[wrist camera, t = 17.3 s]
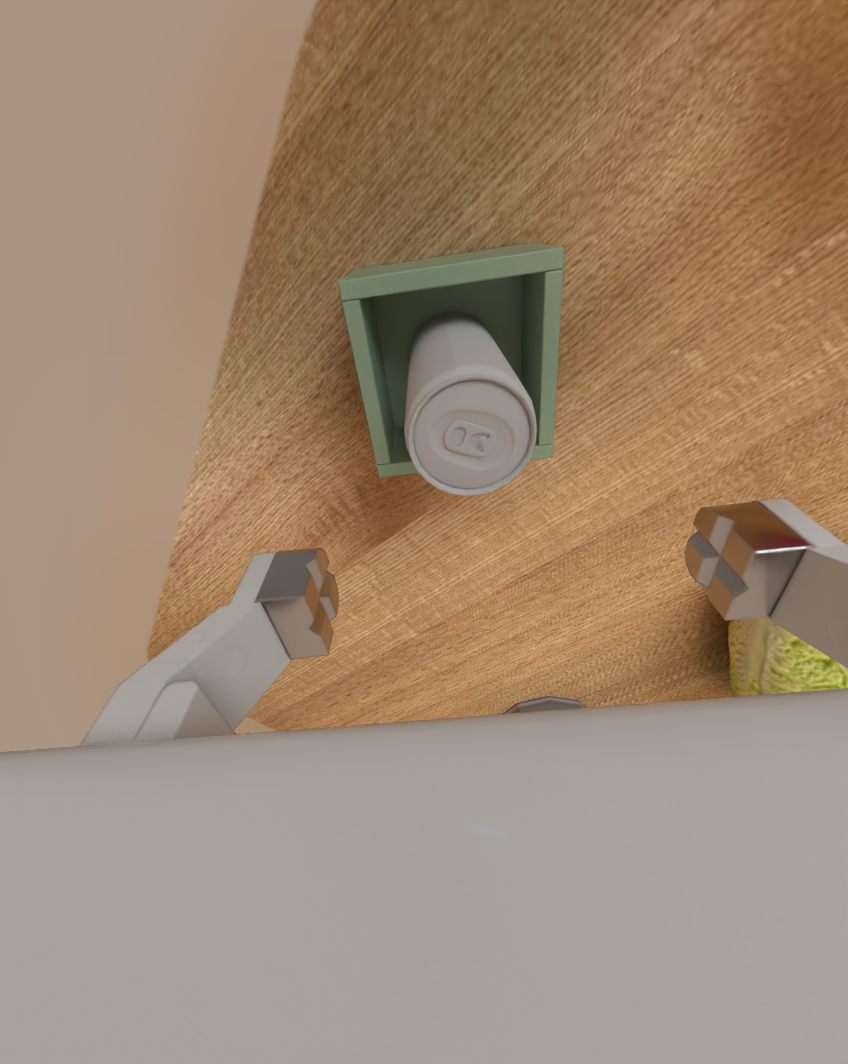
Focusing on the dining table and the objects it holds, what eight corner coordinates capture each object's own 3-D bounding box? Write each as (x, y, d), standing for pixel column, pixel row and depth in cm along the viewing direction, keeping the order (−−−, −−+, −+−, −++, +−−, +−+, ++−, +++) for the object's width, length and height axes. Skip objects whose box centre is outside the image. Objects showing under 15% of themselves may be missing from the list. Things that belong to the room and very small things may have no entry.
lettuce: (962, 530, 26) (840, 695, 23) (983, 727, 34) (895, 863, 32) (737, 505, 38) (640, 613, 35) (794, 656, 46) (719, 752, 44)
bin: (353, 269, 22) (336, 280, 18) (535, 241, 22) (565, 246, 17) (385, 437, 28) (379, 478, 24) (531, 419, 27) (553, 457, 23)
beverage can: (476, 405, 26) (509, 511, 17) (400, 384, 26) (389, 483, 16) (505, 323, 24) (565, 393, 14) (422, 297, 23) (424, 351, 13)
